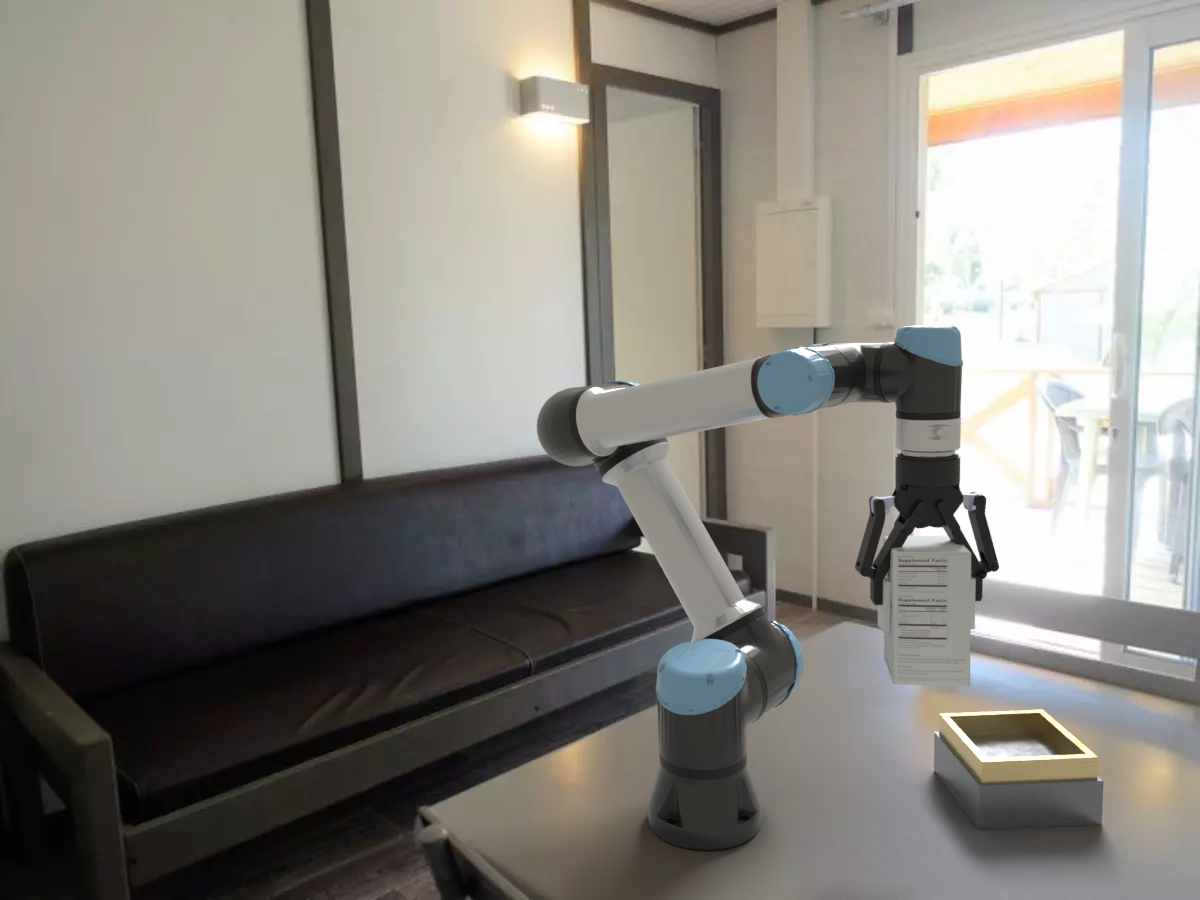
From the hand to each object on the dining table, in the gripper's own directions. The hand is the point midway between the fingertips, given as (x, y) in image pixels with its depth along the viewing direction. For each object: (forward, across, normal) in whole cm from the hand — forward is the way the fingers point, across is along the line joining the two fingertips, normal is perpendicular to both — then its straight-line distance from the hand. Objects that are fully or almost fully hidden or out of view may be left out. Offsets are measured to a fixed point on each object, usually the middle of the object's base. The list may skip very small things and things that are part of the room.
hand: (925, 627), depth 118 cm
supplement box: (+6, 0, 0) cm, 6 cm away
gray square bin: (+27, +15, +8) cm, 32 cm away
